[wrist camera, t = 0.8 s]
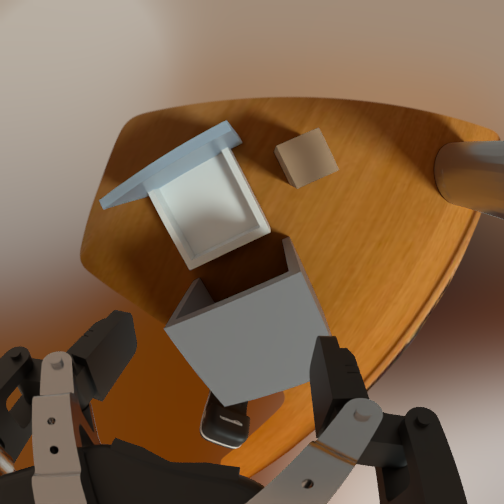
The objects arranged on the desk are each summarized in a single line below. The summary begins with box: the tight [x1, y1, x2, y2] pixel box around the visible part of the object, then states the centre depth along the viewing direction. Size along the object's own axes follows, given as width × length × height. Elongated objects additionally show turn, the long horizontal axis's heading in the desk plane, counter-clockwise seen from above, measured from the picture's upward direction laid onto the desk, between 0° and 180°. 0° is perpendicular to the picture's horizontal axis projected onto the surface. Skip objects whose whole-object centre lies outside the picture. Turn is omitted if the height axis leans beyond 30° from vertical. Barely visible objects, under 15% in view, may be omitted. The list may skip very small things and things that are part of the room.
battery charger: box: [200, 390, 250, 449], centre depth 36 cm, size 7×4×11 cm, turn 60°
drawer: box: [99, 120, 271, 270], centre depth 28 cm, size 14×12×11 cm
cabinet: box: [164, 237, 332, 407], centre depth 31 cm, size 14×12×12 cm
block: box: [274, 128, 339, 189], centre depth 27 cm, size 4×4×8 cm
